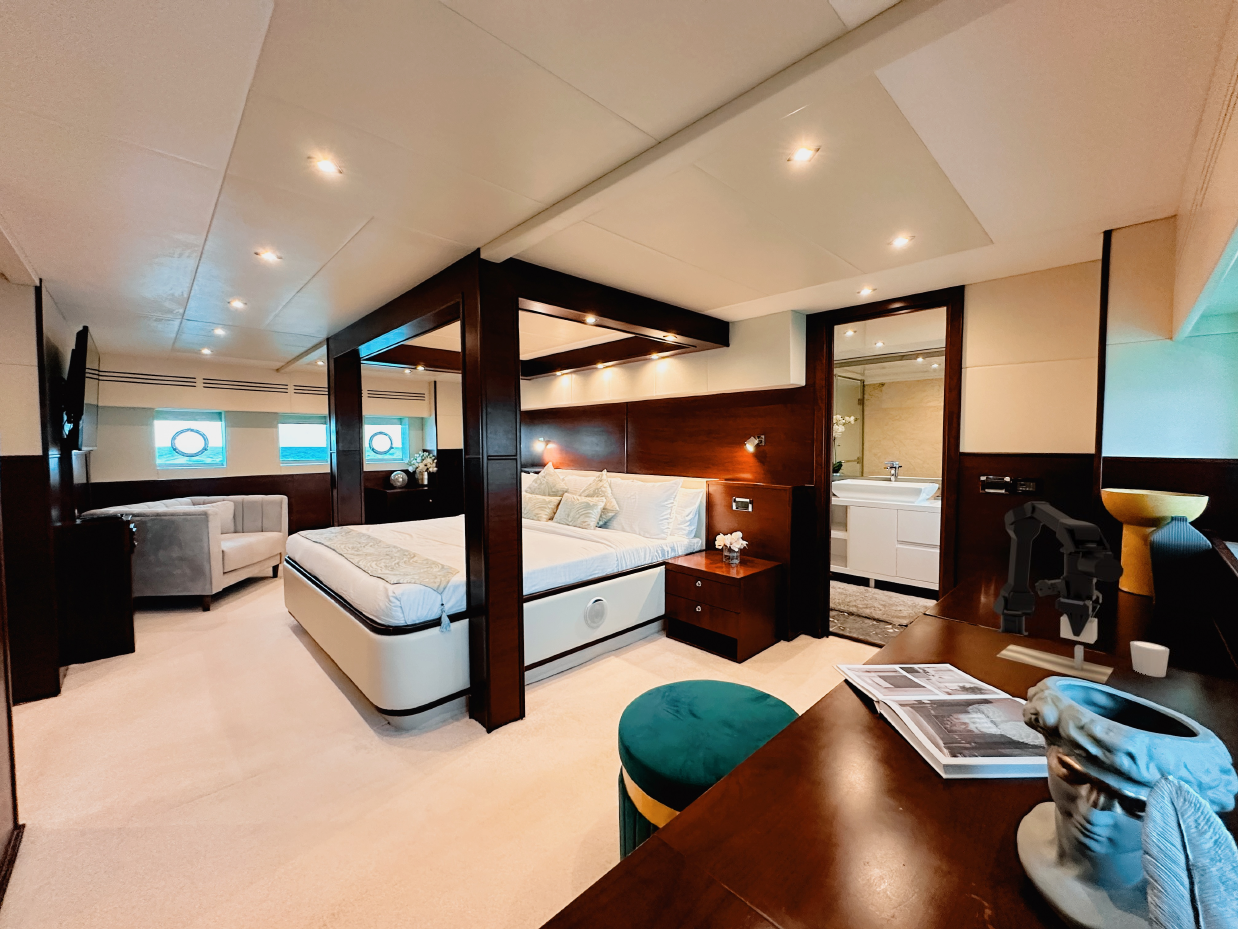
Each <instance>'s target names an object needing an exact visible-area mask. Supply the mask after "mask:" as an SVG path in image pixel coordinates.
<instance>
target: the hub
mask: <svg viewBox="0 0 1238 929" xmlns="http://www.w3.org/2000/svg"><path fill="white" fill-rule="evenodd" d="M1060 638H1065V639H1070V640H1074V641H1078V642H1079V641H1080V642H1082V643H1083V642H1084V643H1086V644H1087V643H1089V644H1094V643H1095V641H1096V640H1098V618H1097V617H1096V618H1095V617H1092V618H1089V620H1088V622H1087V624H1086V626H1085V627H1084V629H1083V631H1082V633H1081V635H1080V636H1079V637H1076V636H1073V633H1072V630H1071V626H1070V623H1069V620H1068V617H1067V615H1066V614H1065V613H1063V615H1062V616H1060Z"/></svg>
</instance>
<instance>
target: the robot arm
mask: <svg viewBox="0 0 1238 929" xmlns="http://www.w3.org/2000/svg"><path fill="white" fill-rule="evenodd" d="M1004 522H1005V530H1006V531H1007V533H1008V534H1009V535H1010V538H1011V540H1010V552H1009V564H1008V577H1007V581H1006V583H1005V584H1004V585H1003V586H1002V587H1001V588H1000V592H999V595H998V597H997V599H996V600H995V601H994V602H993V604H992V608H993V612H995V613H996V614H998V615H1000V616H1001V617H1000V618H1001V620H1000V626H1001V627H1000V628H999V629H998V630H997V633H1000V634H1001V633H1002V634H1014V635H1024V636H1025V635H1026V636H1027V635H1029V632H1028V631H1025V618H1027V617H1028V618H1033V615H1034V612H1035V608H1036V603H1035V602H1036V595H1035V593H1034V592H1032V590H1031V588H1030V587H1029V580H1030V579H1029V577H1030V566H1031V556H1032V555H1031V554H1032V543H1033V540H1034V539H1035V538H1036V537H1037V536H1038V535H1039V534H1040V531H1041V527H1042V525H1046V526H1047V527H1049V528H1050V529H1052V530H1053V531H1055V532H1056V535H1055V538H1056V539H1058V540H1059V541H1060V543H1061V544H1063V546H1062V547H1061V548H1060V549H1059V551H1060V552H1061V553H1064V556H1063V557H1064V559H1063V560H1064V561H1063V562H1064V564H1063V565H1064V566H1063V567H1064V570H1063V572H1064V573H1063V575H1062V576H1061V577H1060V579H1053V580H1048V579H1044V580H1042V579H1041V580H1038V582H1037V583H1035V584H1034V586H1035V588H1034V589H1035V591H1036V592H1037V593H1038V595H1039V597H1046V596H1048V595H1049V596H1050V595H1051V596H1052V595H1057V594H1059V595H1060V597H1059V598H1058V599H1056V600H1055V601H1054V604H1055V609H1056V610H1059V611H1060V612H1062V613H1063V614H1066V615H1067V617H1068V620H1069V623H1070V626H1071V630H1072V633H1073V636H1076V637H1079V636H1080V635H1081V633H1082V631H1083V629H1084V627H1085V626H1086V624H1087V622H1088V620H1089V618H1094V616H1095V614H1096V612H1097V611H1098V609H1099V607H1100V604H1101V603H1102V601H1103V600H1102V599H1103V597H1102V596H1103V595H1102V594H1101V593H1100V592H1099V591H1098V590H1096V586H1095V585H1096V584H1095V583H1096V582H1097V580H1100V581H1103V582H1107V583H1114V582H1117V581H1119V580H1120V579H1121V578H1122V577H1123V575H1124V571H1125V570H1124V567H1123V565H1122V564H1121V563H1120V561H1118V560H1117V559H1116V558H1114V553H1112V551H1111V549H1110V547H1111V546H1110V544H1109V543H1108V542H1107V541H1106V539H1105V537H1104V535H1103V533H1102V531H1101V530H1100V528H1099V527H1098V526H1097V525H1096V524H1093V523H1090V522H1087V521H1083V520H1076V519H1073V518H1071V517H1070V516H1068V515H1067V514H1065V513H1063V512H1062V511H1060V510H1058V509H1056V508H1055V507H1054V506H1051V504H1050V503H1049V502H1046V501H1029V502H1026V503H1025V504H1023V505H1020V506H1018V507H1014V508H1012V509H1010V510H1009V511H1008V512H1006V513H1005V515H1004ZM1093 601H1094V602H1096V603H1093Z"/></svg>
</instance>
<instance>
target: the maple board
mask: <svg viewBox="0 0 1238 929" xmlns="http://www.w3.org/2000/svg"><path fill="white" fill-rule="evenodd" d="M996 657H998V658H1003V659H1007V660H1010V661H1013V662H1018V663H1019V662H1020V663H1023V664H1026V665H1030V666H1033V667H1038V668H1041V669H1046V670H1049V671H1054V672H1057V673H1062V674H1065V675H1069V676H1073V677H1078V678H1081V679H1086V680H1089V681H1093V682H1096V683H1100V684H1105V683H1106V682H1107V680H1108V678H1109V676H1110V675H1111V673H1112V672H1113V671H1114V667H1109V666H1105V665H1100V664H1096V663H1093V662H1088V661H1085V660H1083V668H1082V670H1077V669H1075V658H1071V657H1067V656H1062V655H1058V654H1054V653H1050V652H1045V651H1041V650H1037V649H1033V648H1028V647H1024V646H1021V645H1020V646H1019V645H1014V644H1009V645H1008V646H1007V647H1006V648H1004V649H1003V650H1002V651H1000V652H999V653H998V654H997V655H996Z"/></svg>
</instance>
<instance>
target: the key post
mask: <svg viewBox="0 0 1238 929" xmlns="http://www.w3.org/2000/svg"><path fill="white" fill-rule="evenodd" d="M1074 659H1075V669H1077V670H1082V668H1083V661H1084V645H1080V644H1076V645H1075V646H1074Z"/></svg>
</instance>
